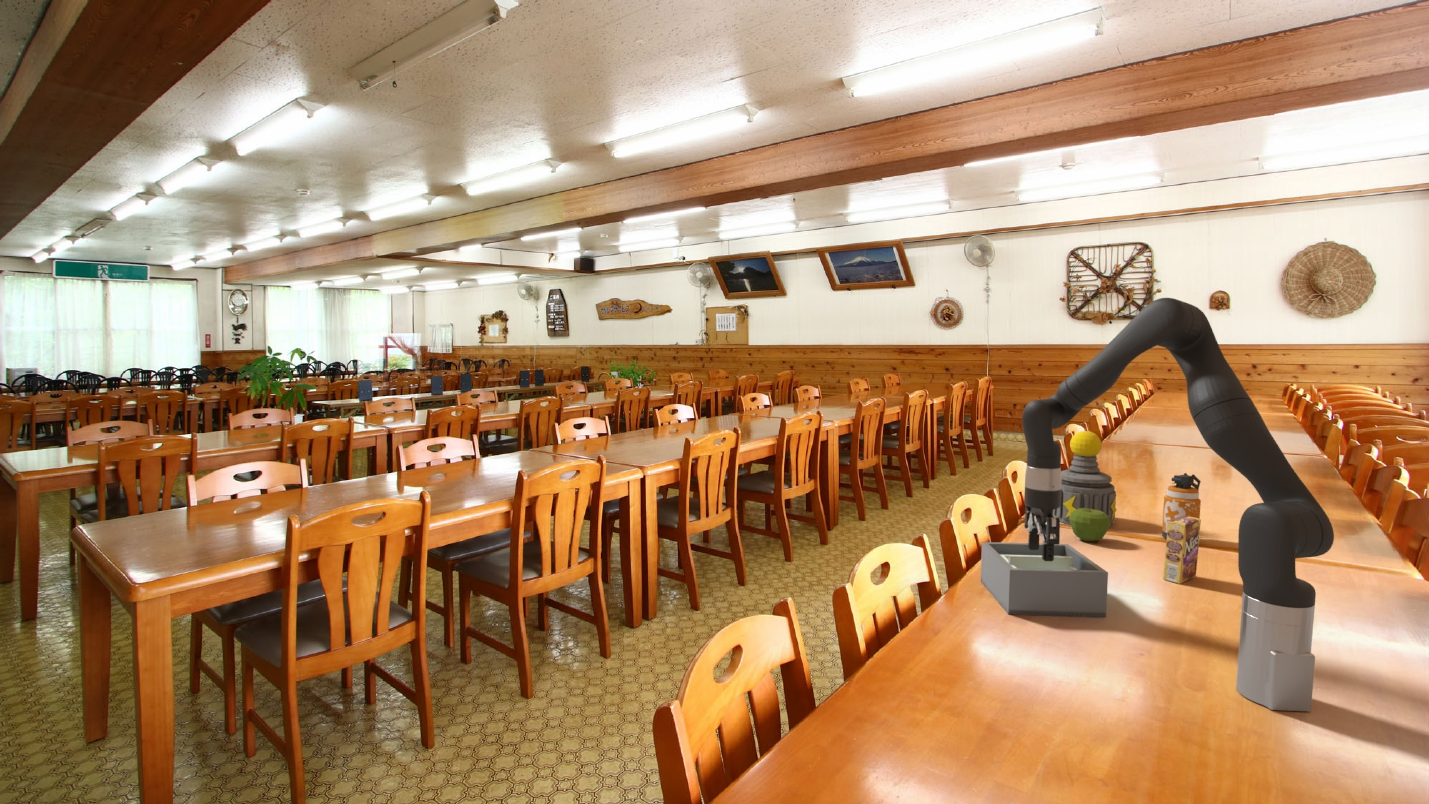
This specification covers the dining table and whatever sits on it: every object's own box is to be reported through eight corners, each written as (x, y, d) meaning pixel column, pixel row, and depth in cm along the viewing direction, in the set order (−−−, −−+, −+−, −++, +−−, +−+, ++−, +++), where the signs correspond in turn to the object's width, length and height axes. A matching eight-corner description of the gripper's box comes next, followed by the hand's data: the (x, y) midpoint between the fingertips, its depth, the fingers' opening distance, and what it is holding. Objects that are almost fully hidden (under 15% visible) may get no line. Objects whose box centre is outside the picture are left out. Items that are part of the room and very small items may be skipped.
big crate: (1105, 617, 146) (1108, 572, 145) (1008, 614, 148) (1009, 569, 147) (1065, 583, 166) (1067, 544, 166) (980, 581, 168) (981, 542, 167)
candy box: (1181, 585, 165) (1185, 524, 164) (1162, 580, 169) (1165, 520, 167) (1197, 577, 170) (1201, 518, 169) (1178, 573, 174) (1182, 514, 172)
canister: (1155, 538, 204) (1158, 472, 202) (1177, 533, 209) (1181, 469, 207) (1186, 546, 196) (1190, 478, 194) (1209, 541, 201) (1213, 474, 199)
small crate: (1084, 606, 150) (1086, 567, 149) (1018, 604, 151) (1020, 565, 150) (1058, 584, 163) (1060, 547, 163) (998, 582, 165) (999, 546, 164)
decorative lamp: (1064, 510, 237) (1068, 425, 234) (1124, 521, 223) (1128, 431, 220) (1040, 519, 225) (1044, 430, 222) (1101, 532, 211) (1106, 436, 208)
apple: (1072, 544, 198) (1073, 510, 198) (1064, 534, 209) (1066, 502, 208) (1113, 547, 195) (1115, 513, 194) (1104, 537, 205) (1105, 504, 204)
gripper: (1073, 492, 147) (1070, 565, 149) (1047, 479, 162) (1045, 546, 163) (1037, 492, 148) (1035, 564, 149) (1015, 479, 162) (1012, 545, 164)
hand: (1040, 554), depth 156 cm, fingers open, 8 cm apart
